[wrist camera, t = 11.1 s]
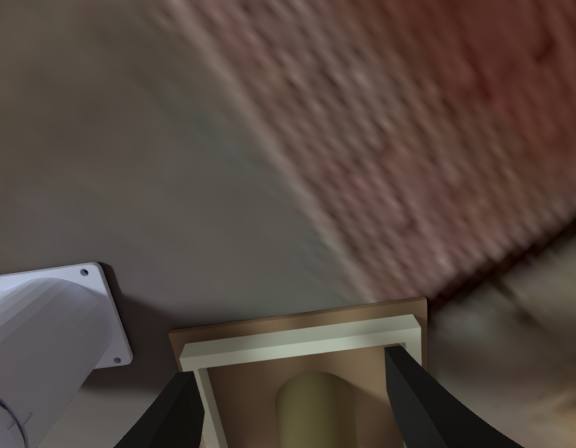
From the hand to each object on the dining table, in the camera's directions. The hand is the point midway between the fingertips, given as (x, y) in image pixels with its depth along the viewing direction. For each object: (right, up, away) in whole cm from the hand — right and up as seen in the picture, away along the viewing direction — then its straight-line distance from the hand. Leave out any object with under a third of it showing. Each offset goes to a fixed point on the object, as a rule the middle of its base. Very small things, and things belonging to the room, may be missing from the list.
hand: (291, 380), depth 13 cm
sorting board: (+2, -9, +14) cm, 17 cm away
